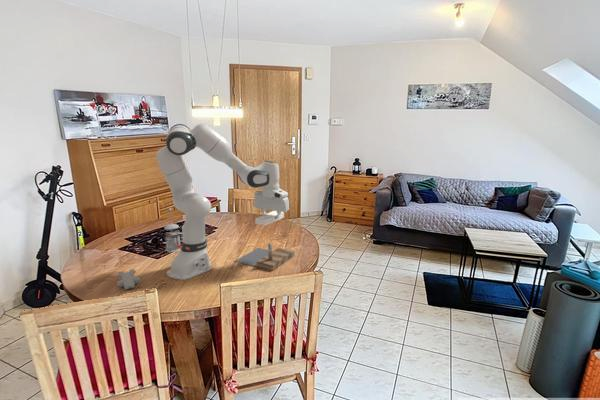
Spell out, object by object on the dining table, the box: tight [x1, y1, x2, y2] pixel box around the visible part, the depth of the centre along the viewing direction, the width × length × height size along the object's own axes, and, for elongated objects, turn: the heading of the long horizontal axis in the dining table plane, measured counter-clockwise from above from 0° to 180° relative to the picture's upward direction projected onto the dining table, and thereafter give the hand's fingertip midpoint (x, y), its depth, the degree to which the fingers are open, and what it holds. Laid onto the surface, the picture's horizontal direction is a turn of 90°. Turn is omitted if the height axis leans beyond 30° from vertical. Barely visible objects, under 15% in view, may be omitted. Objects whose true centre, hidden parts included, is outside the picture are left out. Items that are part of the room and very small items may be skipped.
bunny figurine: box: [116, 268, 141, 290], centre depth 158 cm, size 10×5×15 cm
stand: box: [256, 242, 295, 272], centre depth 182 cm, size 22×10×12 cm, turn 152°
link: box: [254, 210, 285, 227], centre depth 179 cm, size 18×6×3 cm, turn 152°
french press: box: [163, 207, 182, 253], centre depth 198 cm, size 10×12×25 cm
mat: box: [234, 247, 274, 267], centre depth 189 cm, size 22×13×1 cm, turn 152°
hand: (271, 218), depth 180 cm, fingers closed on link, 6 cm apart
